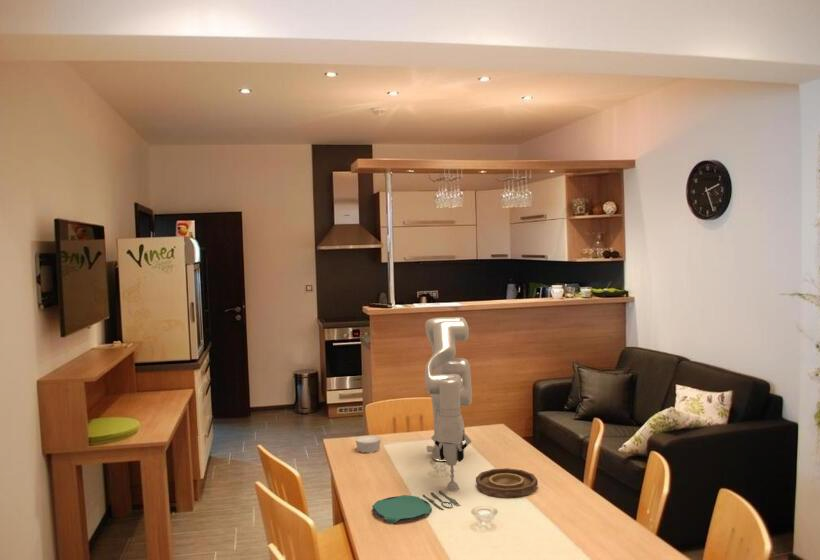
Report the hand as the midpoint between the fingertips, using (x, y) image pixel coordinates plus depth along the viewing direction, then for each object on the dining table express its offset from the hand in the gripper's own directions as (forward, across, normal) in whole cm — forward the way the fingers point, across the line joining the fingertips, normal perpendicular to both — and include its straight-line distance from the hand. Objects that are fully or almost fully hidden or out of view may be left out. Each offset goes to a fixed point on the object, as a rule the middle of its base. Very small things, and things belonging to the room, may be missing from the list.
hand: (451, 459), depth 237 cm
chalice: (+11, 0, 0) cm, 11 cm away
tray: (+11, +18, +9) cm, 23 cm away
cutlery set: (+12, -5, -21) cm, 25 cm away
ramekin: (+11, -53, +30) cm, 62 cm away
